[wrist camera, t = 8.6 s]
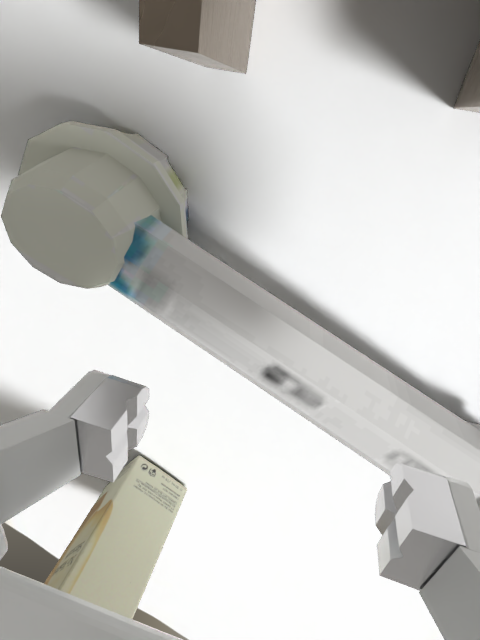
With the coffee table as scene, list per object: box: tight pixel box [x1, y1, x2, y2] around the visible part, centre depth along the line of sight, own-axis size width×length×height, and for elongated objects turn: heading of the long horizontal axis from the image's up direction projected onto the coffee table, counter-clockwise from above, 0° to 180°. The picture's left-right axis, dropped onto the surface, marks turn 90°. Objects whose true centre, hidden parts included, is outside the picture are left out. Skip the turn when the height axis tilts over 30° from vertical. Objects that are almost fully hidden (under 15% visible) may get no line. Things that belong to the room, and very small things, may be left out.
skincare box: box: [44, 456, 187, 619], centre depth 21 cm, size 6×4×12 cm
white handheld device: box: [1, 121, 480, 510], centre depth 15 cm, size 5×7×25 cm
